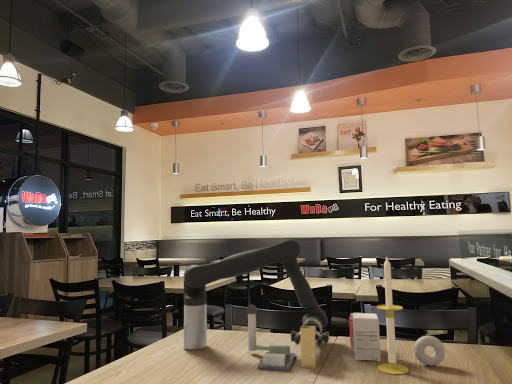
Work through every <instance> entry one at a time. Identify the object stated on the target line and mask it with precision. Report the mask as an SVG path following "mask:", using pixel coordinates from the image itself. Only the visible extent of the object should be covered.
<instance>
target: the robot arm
mask: <svg viewBox="0 0 512 384" xmlns="http://www.w3.org/2000/svg"><path fill="white" fill-rule="evenodd" d="M300 255H301V246H300V243H298V241H296V240H293V239H285V240H283V241H280V242H277V243H275V244H273V245H270V246H267V247H261V248H255V249H252V250H245V251H242V252H238V253H235V254H232V255H229V256H227V257H225V258H223V259H221V260H219V261H216V262H211V263H207V264H201V265H199V264H191V265H189V266H188V267H186V269H185V270H184V272H183V316H184V317H183V350H191V351H193V350H196V351H197V350H201V349H205V348H207V346H208V344H207V342H208V337H207V335H208V333H207V331H208V330H207V329H208V328H207V325H208V324H207V320H208V319H207V318H208V317H207V316H208V315H207V290H206V288H207V287H206V286H207V285H209V284H211V283H214V282H216V281H220V280H223V279H224V280H225V279H230V278H235V277H240V276H243V275H247V274H249V273H253V272H256V271H258V270H260V269H263V268H266V267H267V266H269V265H271V264H274V263H275V264H276V263H279V262H280V263H281V264H282V265H283V268H284V270H285V272H286V274H287V275H288V278H289V280H290V281H291V282H290V283H291V285H292V287H293V290H294V292H295V295H296V298H297V300H298V302H299V306H300V307H301V308H302V309H303V310H304V309H305V310H306V309H312V310H314V311H312V312H310V313H307V314H305V315H303V316H302V319H301V321H302V326H316V346H320V345H322V343H325V344H327V343H328V342H329V340H330V332H329V331H325V332H323V328H325V327H326V326H327V325H328V324H329V323H328V322H329V320H328V316H327V314H326V313H325V312H324V310H323V309H322V308H321V306H320V305H319V303H318V301H317V299H316V297H315V295H314V292H313V290H312V288H311V285H310V283H309V282H308V280H307V278H306V277H305V275H304V273H303V272H302V270H301V268H300V266H299V262H298V259H297V258H299V256H300ZM290 341H291V342H293V343H294V344H296V345H300V343H301V339H300V330H298V332H297V331H296V330H294V329H292V330H291V332H290Z"/></svg>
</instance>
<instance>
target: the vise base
mask: <svg viewBox="0 0 512 384" xmlns="http://www.w3.org/2000/svg"><path fill="white" fill-rule="evenodd" d="M295 358H296V352H290V355H286V354H270V353H269V351H266V352H265V353H263V355H262V359H260V361H259V363H258V365H257V366H256V367H257V368H256V369H257V370H261V371H262V370H263V371H283V372H290V371H291V368H292V366H293V363H294V361H295Z"/></svg>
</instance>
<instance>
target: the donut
mask: <svg viewBox="0 0 512 384" xmlns="http://www.w3.org/2000/svg"><path fill="white" fill-rule="evenodd" d="M428 347H432V348H433V350H434V351H433V353H432V354H431V355H429V354H426V352H425V349H426V348H428ZM413 352H414V356H415V357H416V360H418V362H420V363H421V364H423V365H424V366H427V365H429V366H428V367H434V366H437V365H440V364H441V363H442V362H443V361H444V359H445V356H446V349H445V346H444V344H443V342H442V341H441V340H440V339H439V338H437V337H435V336H433V335H422V336H421V337H419V338H418V339H417V340H416V342H415V344H414V345H413Z"/></svg>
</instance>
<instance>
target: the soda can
mask: <svg viewBox="0 0 512 384" xmlns="http://www.w3.org/2000/svg"><path fill="white" fill-rule="evenodd" d="M353 313H354V312H351V313H350V314H349V317H348V321H349V322H348V323H349V338H350V339H349V341H350V342H349V343H350V346H351V348H352V349H354V333H353Z"/></svg>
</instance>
